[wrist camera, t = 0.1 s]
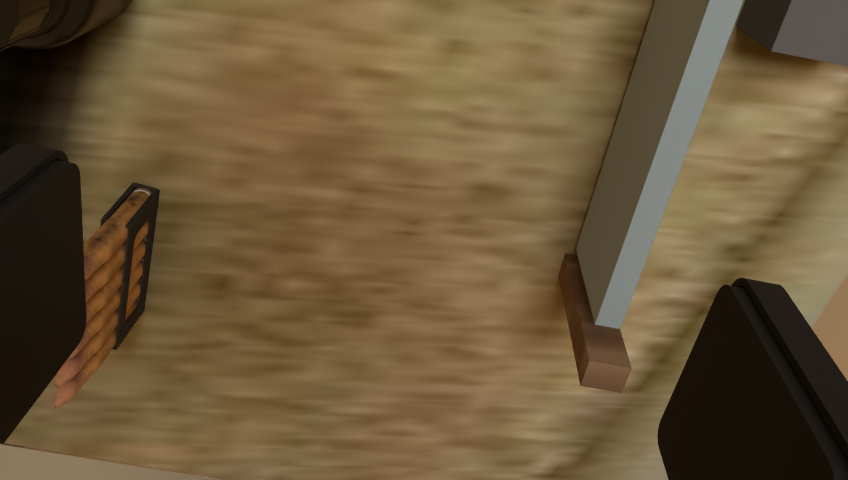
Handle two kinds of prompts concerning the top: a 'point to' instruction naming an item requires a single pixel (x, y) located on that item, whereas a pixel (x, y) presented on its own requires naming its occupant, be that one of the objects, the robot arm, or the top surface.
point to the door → (649, 146)
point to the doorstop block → (799, 27)
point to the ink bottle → (52, 21)
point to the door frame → (592, 335)
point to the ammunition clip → (112, 284)
